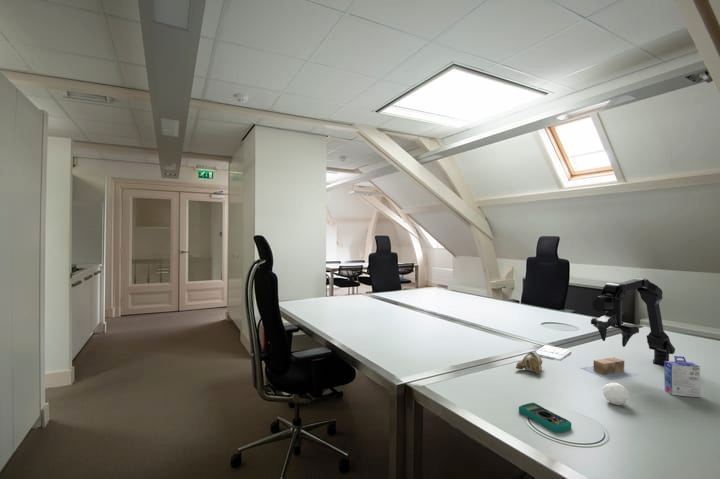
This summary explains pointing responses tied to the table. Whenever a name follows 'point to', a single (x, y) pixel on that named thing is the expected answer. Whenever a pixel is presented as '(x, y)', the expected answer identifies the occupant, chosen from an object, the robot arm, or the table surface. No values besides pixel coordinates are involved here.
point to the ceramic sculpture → (531, 362)
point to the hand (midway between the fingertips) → (613, 343)
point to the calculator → (553, 352)
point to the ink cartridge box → (682, 377)
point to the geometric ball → (615, 393)
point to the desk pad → (610, 376)
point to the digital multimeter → (545, 417)
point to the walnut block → (608, 366)
